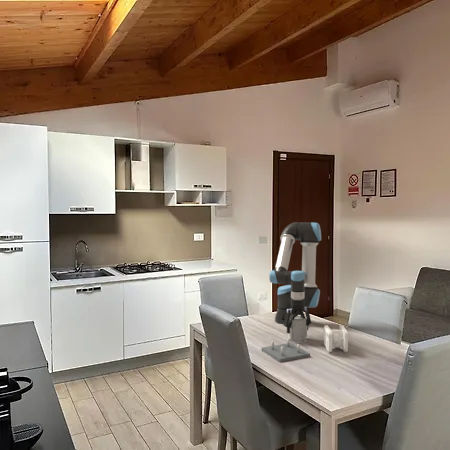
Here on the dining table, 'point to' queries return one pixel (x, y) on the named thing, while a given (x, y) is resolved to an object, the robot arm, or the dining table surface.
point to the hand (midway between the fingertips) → (297, 337)
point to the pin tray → (285, 351)
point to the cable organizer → (335, 338)
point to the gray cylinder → (298, 329)
